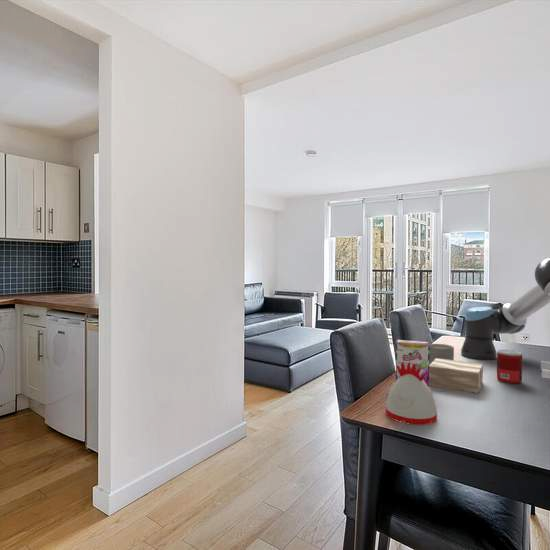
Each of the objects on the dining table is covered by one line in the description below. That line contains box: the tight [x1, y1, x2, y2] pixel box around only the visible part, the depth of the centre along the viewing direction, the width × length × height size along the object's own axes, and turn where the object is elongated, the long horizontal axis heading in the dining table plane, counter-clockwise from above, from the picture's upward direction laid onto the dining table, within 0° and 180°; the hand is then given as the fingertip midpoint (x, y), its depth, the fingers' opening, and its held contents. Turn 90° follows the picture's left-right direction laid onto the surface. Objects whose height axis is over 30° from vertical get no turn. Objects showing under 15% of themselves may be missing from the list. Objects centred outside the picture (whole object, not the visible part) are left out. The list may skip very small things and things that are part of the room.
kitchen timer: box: [385, 362, 438, 426], centre depth 107 cm, size 14×14×15 cm
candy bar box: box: [394, 339, 430, 388], centre depth 131 cm, size 11×5×16 cm, turn 71°
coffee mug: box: [429, 343, 455, 365], centre depth 155 cm, size 13×10×10 cm
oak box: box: [429, 358, 484, 394], centre depth 136 cm, size 14×16×7 cm
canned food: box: [496, 349, 523, 385], centre depth 140 cm, size 8×8×11 cm
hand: (541, 368), depth 134 cm, fingers open, 13 cm apart
